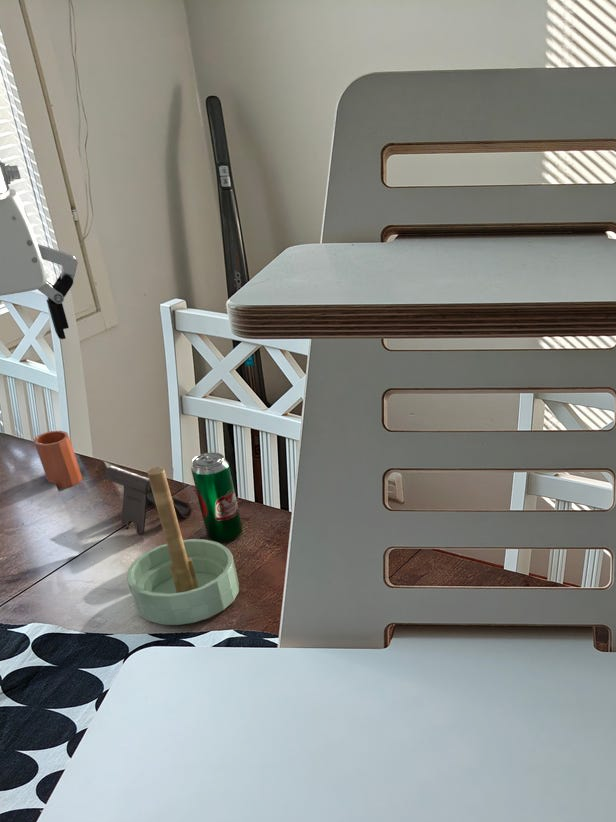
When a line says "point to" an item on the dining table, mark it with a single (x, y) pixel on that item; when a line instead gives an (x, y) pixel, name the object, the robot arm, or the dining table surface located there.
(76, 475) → the crock
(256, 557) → the dining table surface
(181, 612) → the bowl
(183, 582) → the wooden dowel rod
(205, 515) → the soda can
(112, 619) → the dining table surface
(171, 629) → the dining table surface
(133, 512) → the tablet stand
